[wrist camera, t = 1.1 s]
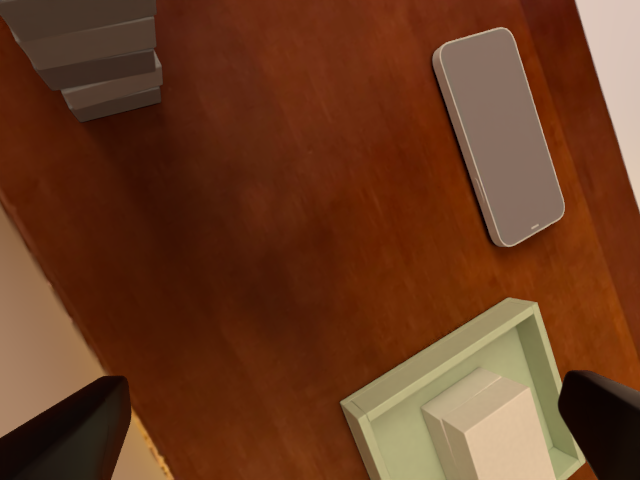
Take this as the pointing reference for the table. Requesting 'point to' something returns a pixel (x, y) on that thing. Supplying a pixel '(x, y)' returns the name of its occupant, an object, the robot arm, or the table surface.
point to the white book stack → (488, 430)
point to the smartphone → (499, 134)
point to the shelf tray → (444, 371)
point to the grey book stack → (91, 51)
